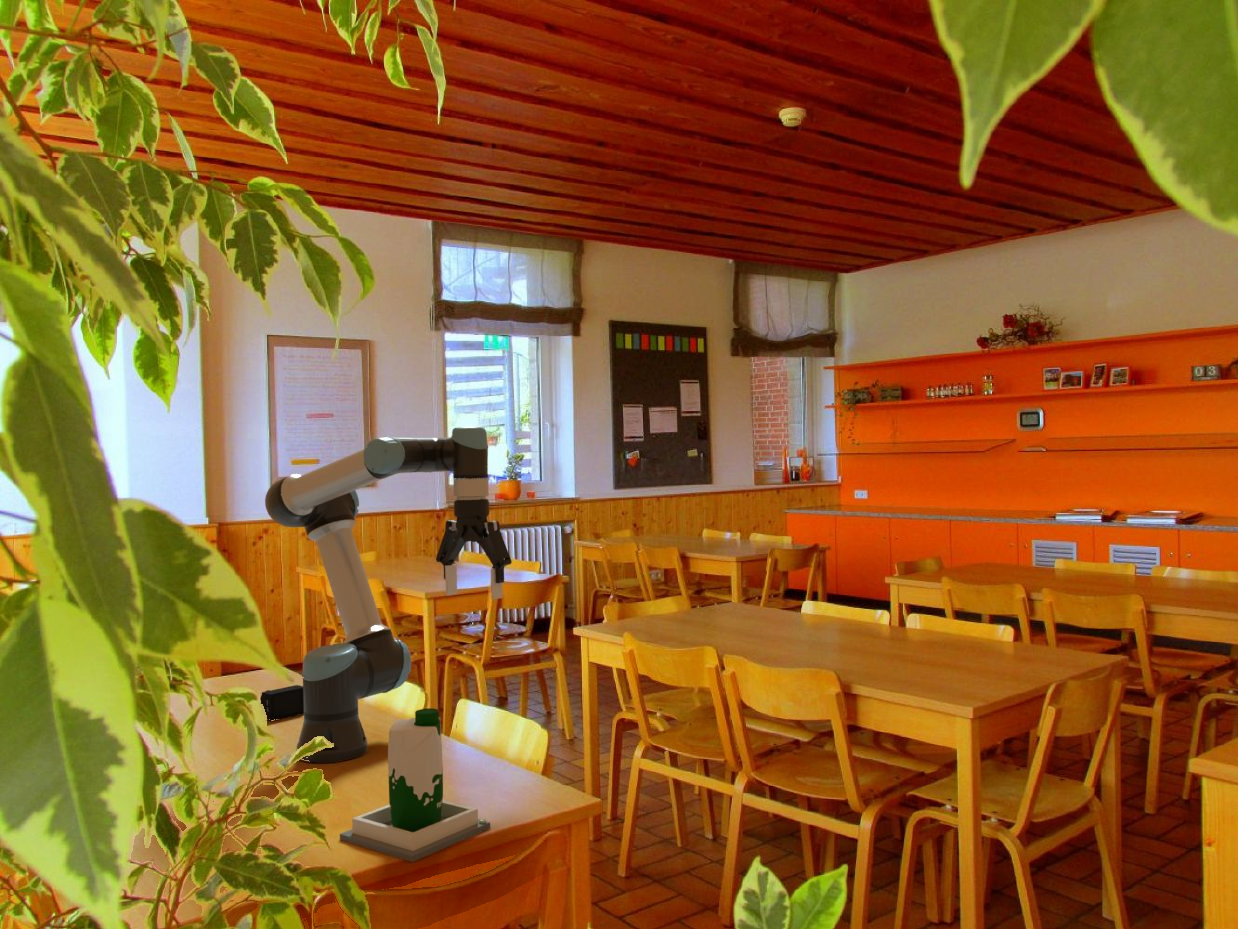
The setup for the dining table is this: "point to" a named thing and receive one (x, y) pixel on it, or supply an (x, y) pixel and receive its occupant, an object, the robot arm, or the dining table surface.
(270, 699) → the digital camera
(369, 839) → the dock
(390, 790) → the soya milk
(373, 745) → the dining table surface
